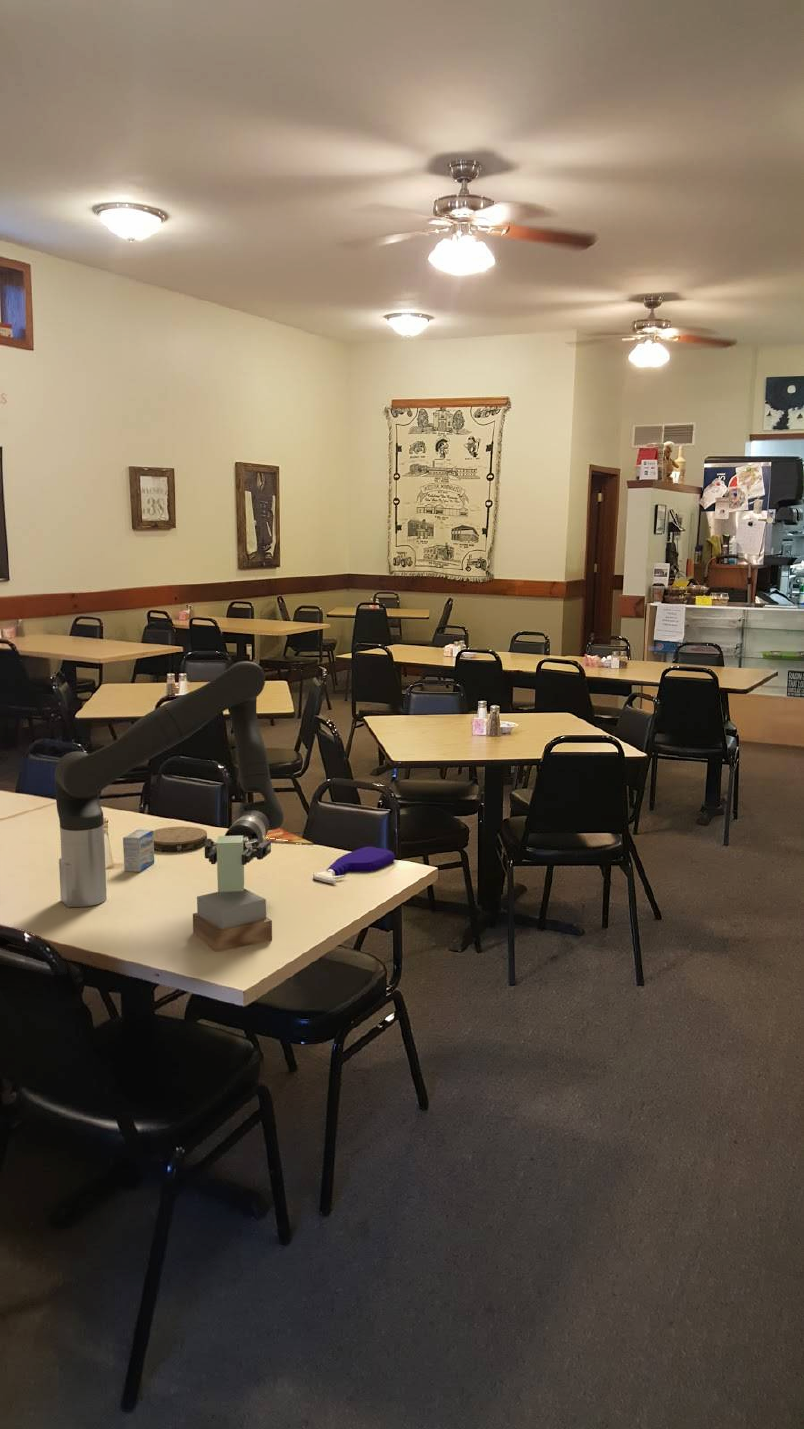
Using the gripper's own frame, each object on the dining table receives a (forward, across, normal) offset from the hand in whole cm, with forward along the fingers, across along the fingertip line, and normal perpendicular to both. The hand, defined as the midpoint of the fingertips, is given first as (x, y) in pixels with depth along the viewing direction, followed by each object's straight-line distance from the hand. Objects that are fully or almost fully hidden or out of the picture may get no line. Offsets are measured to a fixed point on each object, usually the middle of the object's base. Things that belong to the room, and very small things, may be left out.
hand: (228, 859), depth 200 cm
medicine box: (-45, -33, +17) cm, 58 cm away
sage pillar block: (-3, 0, +6) cm, 7 cm away
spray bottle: (-48, +20, +18) cm, 54 cm away
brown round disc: (-66, -29, +17) cm, 74 cm away
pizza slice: (-72, -6, +18) cm, 74 cm away
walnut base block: (-2, 0, +17) cm, 17 cm away
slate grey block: (-2, 0, +12) cm, 13 cm away
